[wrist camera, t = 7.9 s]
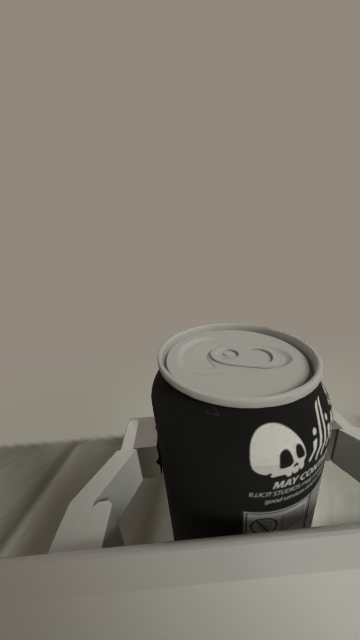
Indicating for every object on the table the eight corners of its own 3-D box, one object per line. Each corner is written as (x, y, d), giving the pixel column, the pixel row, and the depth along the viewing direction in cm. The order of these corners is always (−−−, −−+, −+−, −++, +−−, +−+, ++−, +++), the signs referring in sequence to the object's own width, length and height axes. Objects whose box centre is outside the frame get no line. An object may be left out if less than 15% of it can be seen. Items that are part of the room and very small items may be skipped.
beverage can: (188, 462, 15) (174, 320, 11) (280, 482, 13) (299, 320, 9) (158, 605, 9) (105, 395, 5) (322, 680, 7) (424, 438, 3)
